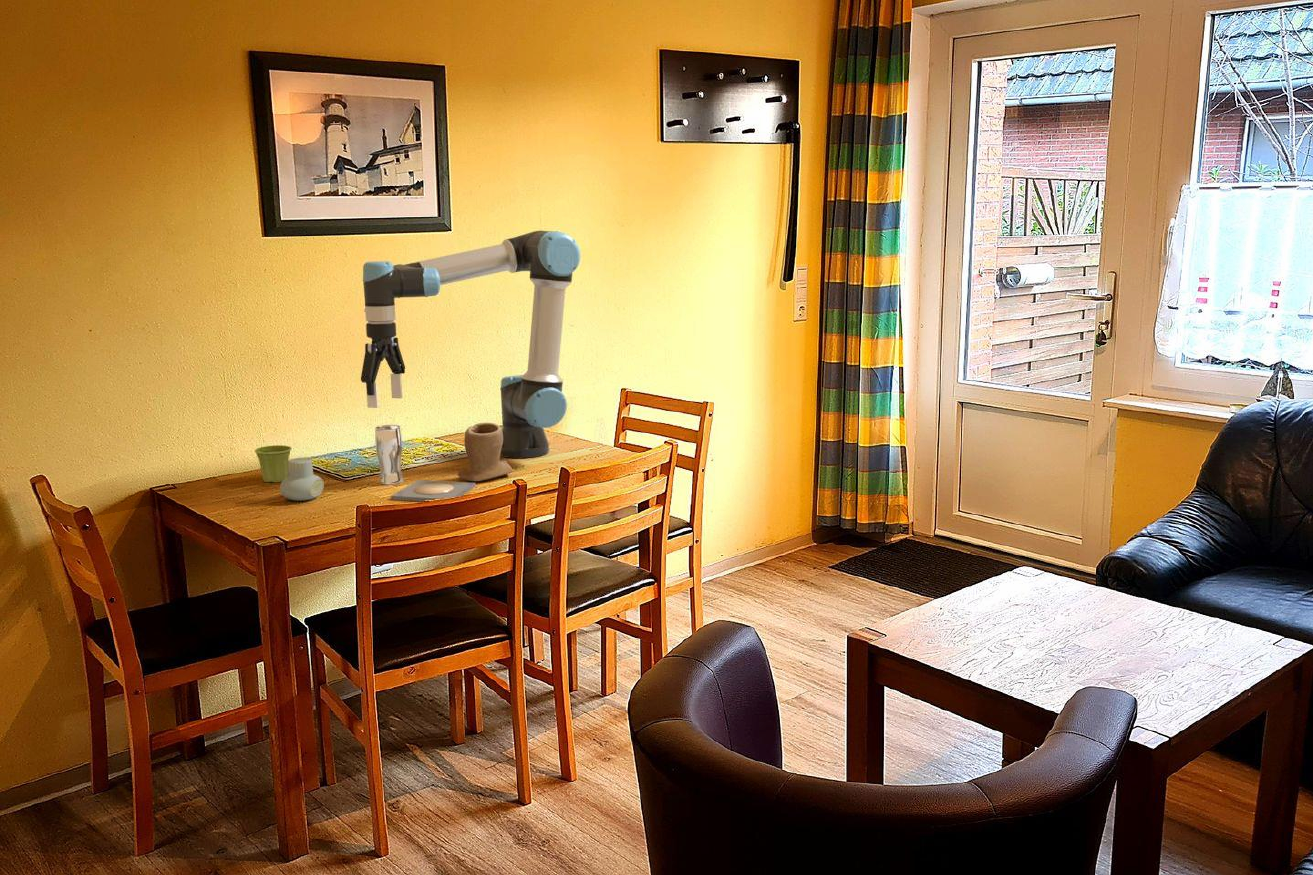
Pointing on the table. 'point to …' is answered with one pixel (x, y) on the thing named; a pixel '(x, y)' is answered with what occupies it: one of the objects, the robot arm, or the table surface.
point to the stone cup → (484, 453)
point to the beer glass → (389, 453)
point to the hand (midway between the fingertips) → (385, 402)
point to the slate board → (432, 490)
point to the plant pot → (274, 462)
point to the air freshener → (301, 481)
